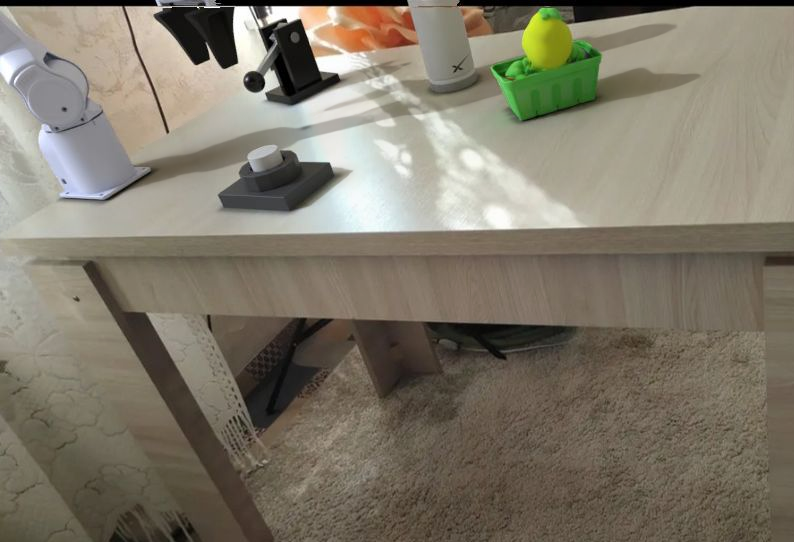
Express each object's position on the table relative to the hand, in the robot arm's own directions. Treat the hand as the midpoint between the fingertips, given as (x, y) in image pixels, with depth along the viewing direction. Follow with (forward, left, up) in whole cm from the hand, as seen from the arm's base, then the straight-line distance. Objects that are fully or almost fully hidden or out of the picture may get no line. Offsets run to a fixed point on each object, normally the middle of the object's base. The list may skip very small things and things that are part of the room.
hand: (216, 64), depth 98 cm
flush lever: (-4, +13, -5) cm, 15 cm away
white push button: (+18, -14, -7) cm, 24 cm away
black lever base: (-3, +16, -10) cm, 19 cm away
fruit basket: (+42, +8, -10) cm, 44 cm away
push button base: (+18, -14, -10) cm, 25 cm away
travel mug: (+24, +16, -10) cm, 31 cm away
